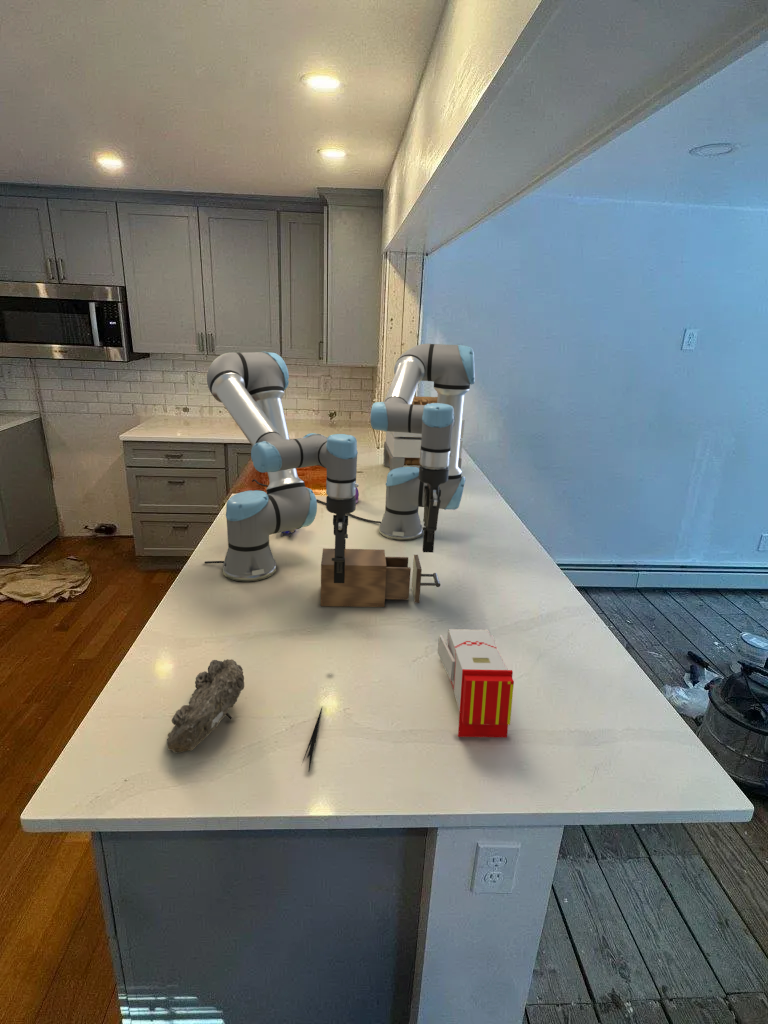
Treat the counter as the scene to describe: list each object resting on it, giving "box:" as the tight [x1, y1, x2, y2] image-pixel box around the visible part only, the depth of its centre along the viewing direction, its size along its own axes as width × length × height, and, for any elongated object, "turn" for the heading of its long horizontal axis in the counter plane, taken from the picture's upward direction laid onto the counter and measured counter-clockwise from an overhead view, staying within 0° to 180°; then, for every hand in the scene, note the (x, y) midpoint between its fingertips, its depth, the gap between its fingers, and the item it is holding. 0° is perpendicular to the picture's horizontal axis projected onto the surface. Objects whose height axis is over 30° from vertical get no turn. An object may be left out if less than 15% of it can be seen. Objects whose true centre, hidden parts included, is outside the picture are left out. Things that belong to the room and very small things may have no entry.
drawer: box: [385, 554, 441, 604], centre depth 154 cm, size 21×9×10 cm, turn 93°
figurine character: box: [280, 529, 296, 538], centre depth 196 cm, size 7×8×15 cm
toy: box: [437, 628, 515, 738], centre depth 117 cm, size 12×13×30 cm
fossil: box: [166, 658, 245, 754], centre depth 106 cm, size 22×10×15 cm
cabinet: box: [320, 548, 386, 608], centre depth 153 cm, size 17×10×12 cm, turn 93°
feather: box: [301, 673, 332, 771], centre depth 108 cm, size 2×28×2 cm
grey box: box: [383, 395, 465, 472], centre depth 268 cm, size 34×33×41 cm
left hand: (339, 571), depth 152 cm, fingers open, 12 cm apart
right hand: (427, 551), depth 151 cm, fingers closed
